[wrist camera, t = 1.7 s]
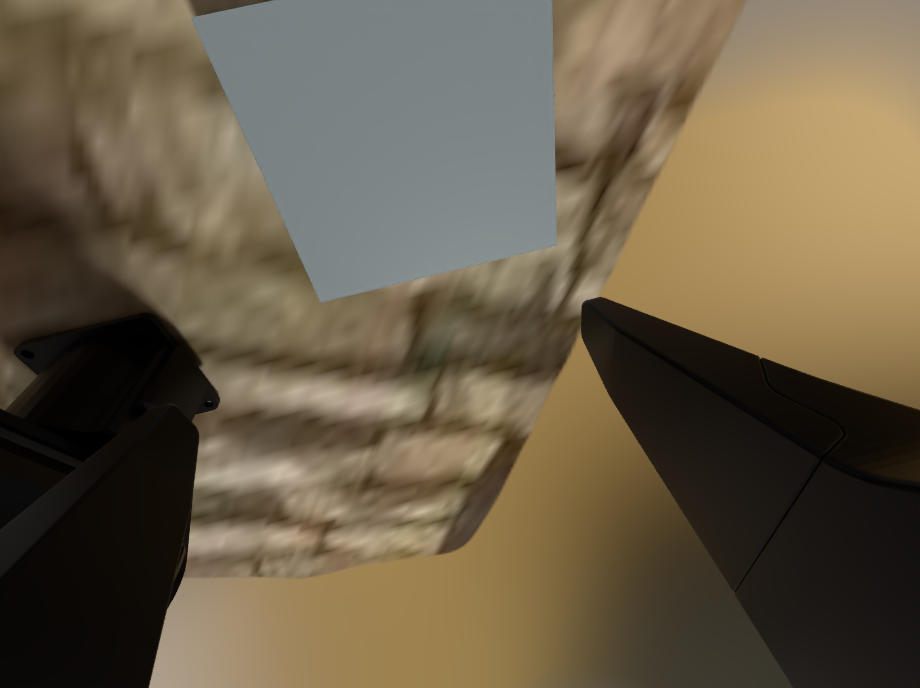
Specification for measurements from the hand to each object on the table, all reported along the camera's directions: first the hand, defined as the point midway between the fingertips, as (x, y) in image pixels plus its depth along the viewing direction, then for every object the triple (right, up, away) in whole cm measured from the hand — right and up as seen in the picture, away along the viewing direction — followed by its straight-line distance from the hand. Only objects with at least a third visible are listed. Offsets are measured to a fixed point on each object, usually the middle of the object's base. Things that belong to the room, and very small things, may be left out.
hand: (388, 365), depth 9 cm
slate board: (-1, +9, +9) cm, 12 cm away
